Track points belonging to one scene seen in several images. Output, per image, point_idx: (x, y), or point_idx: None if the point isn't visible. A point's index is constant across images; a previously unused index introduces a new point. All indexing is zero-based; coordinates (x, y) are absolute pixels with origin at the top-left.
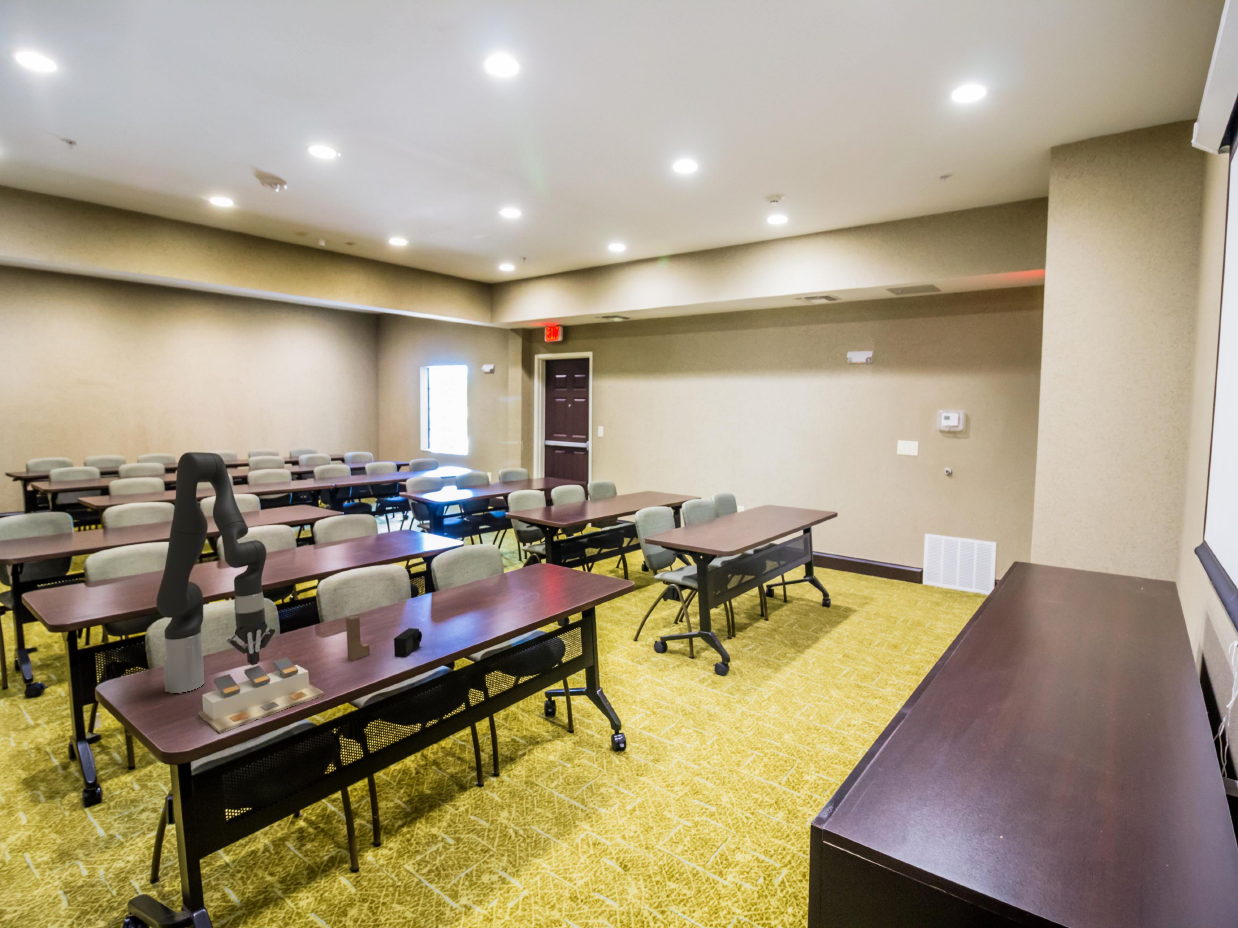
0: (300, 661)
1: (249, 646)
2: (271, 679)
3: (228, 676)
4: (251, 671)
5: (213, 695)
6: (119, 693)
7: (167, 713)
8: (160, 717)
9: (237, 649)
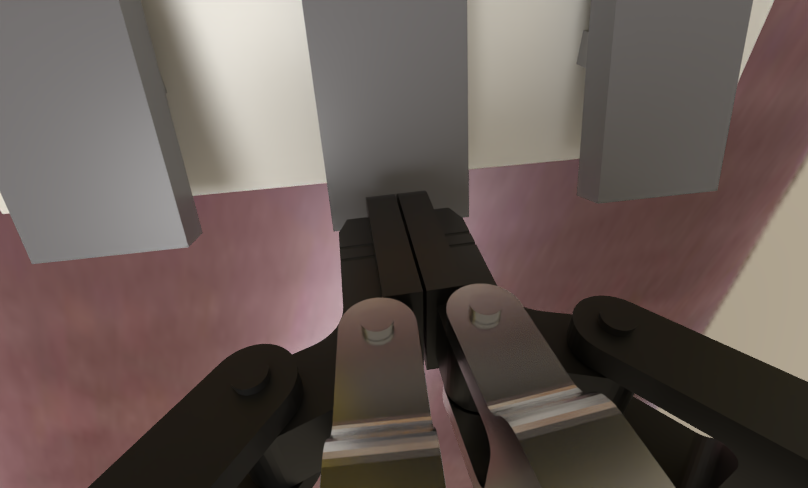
0: (78, 389)
1: (584, 396)
2: (259, 22)
3: (618, 168)
4: (425, 157)
5: None
6: None
7: (665, 234)
8: (699, 215)
9: (664, 417)
